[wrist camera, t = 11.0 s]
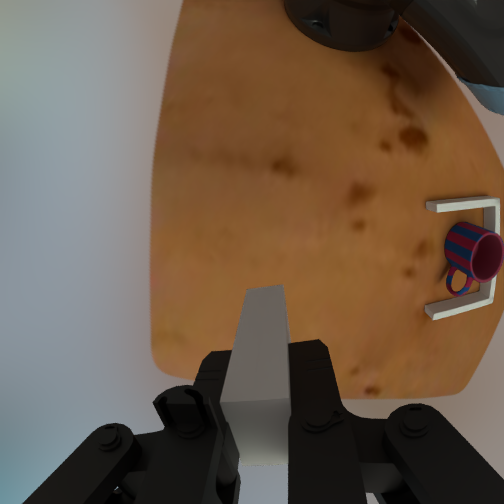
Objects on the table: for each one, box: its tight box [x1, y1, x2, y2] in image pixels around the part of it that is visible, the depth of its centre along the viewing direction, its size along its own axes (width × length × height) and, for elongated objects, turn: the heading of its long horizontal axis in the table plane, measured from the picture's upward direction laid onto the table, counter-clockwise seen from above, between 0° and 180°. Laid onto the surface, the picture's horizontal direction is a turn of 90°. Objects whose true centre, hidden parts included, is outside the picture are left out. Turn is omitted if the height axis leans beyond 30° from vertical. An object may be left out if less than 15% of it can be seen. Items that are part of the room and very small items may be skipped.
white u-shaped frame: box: [425, 196, 500, 320], centre depth 33 cm, size 16×12×3 cm
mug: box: [445, 222, 504, 297], centre depth 31 cm, size 7×10×7 cm
